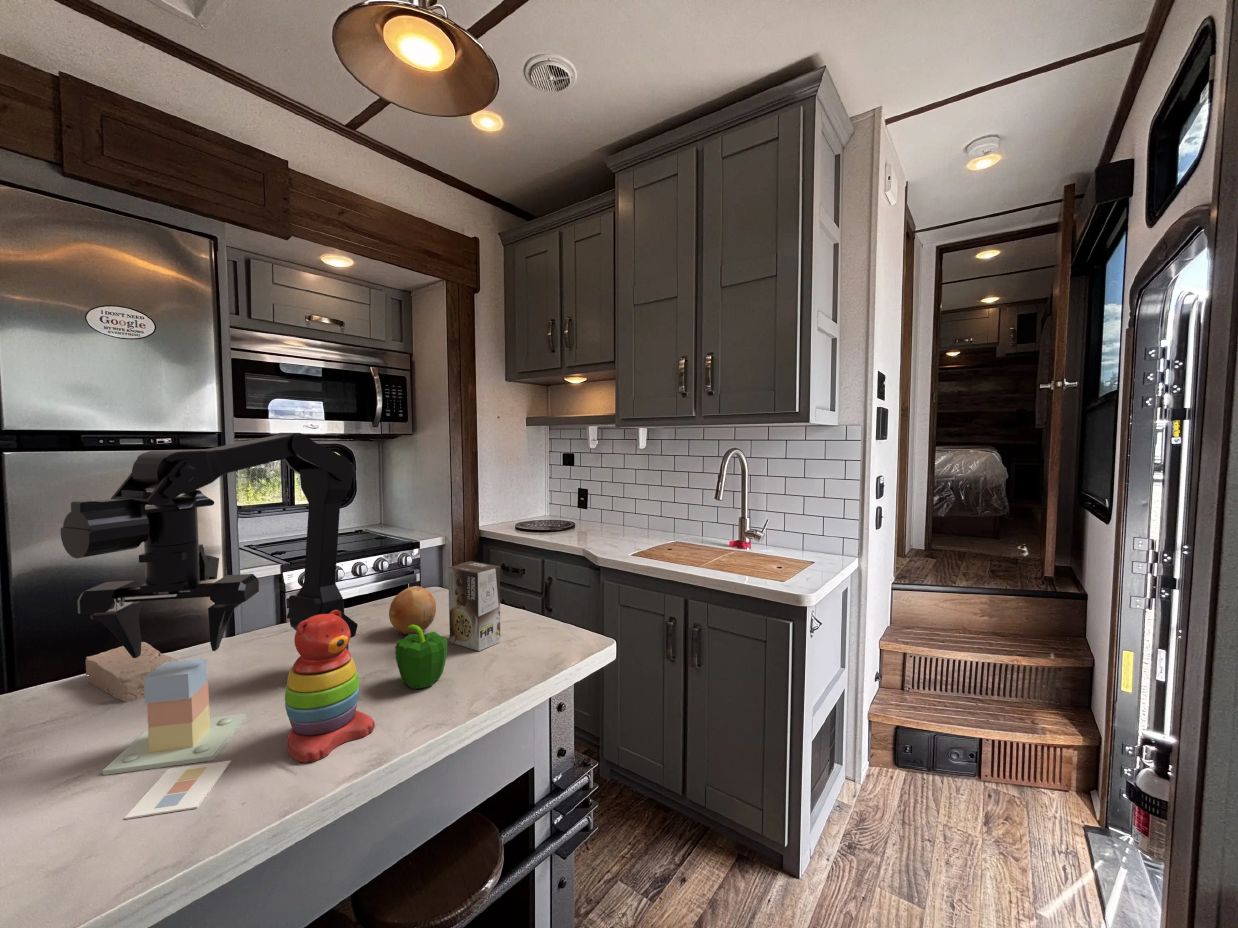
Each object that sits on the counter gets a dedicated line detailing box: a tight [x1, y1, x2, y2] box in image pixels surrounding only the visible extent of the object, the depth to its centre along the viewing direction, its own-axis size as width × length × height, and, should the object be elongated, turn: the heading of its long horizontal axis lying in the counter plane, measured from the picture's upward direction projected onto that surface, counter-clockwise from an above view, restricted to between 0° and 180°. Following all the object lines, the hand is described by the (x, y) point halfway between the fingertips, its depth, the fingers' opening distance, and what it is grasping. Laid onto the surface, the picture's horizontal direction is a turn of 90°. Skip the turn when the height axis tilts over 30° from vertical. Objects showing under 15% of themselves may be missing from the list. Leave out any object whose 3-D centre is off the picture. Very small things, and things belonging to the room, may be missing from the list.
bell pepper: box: [394, 625, 448, 689], centre depth 93 cm, size 8×8×10 cm
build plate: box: [102, 704, 247, 776], centre depth 75 cm, size 12×11×4 cm
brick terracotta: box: [146, 680, 210, 729], centre depth 74 cm, size 5×5×4 cm
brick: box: [85, 641, 179, 703], centre depth 93 cm, size 17×8×5 cm, turn 61°
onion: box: [388, 585, 437, 635], centre depth 116 cm, size 10×10×10 cm
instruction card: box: [124, 760, 232, 820], centre depth 65 cm, size 7×9×1 cm
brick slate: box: [144, 658, 208, 704], centre depth 74 cm, size 5×5×4 cm
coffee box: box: [447, 560, 501, 652], centre depth 111 cm, size 9×6×16 cm
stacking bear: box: [284, 610, 376, 764], centre depth 76 cm, size 11×10×18 cm
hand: (176, 653), depth 74 cm, fingers open, 9 cm apart
